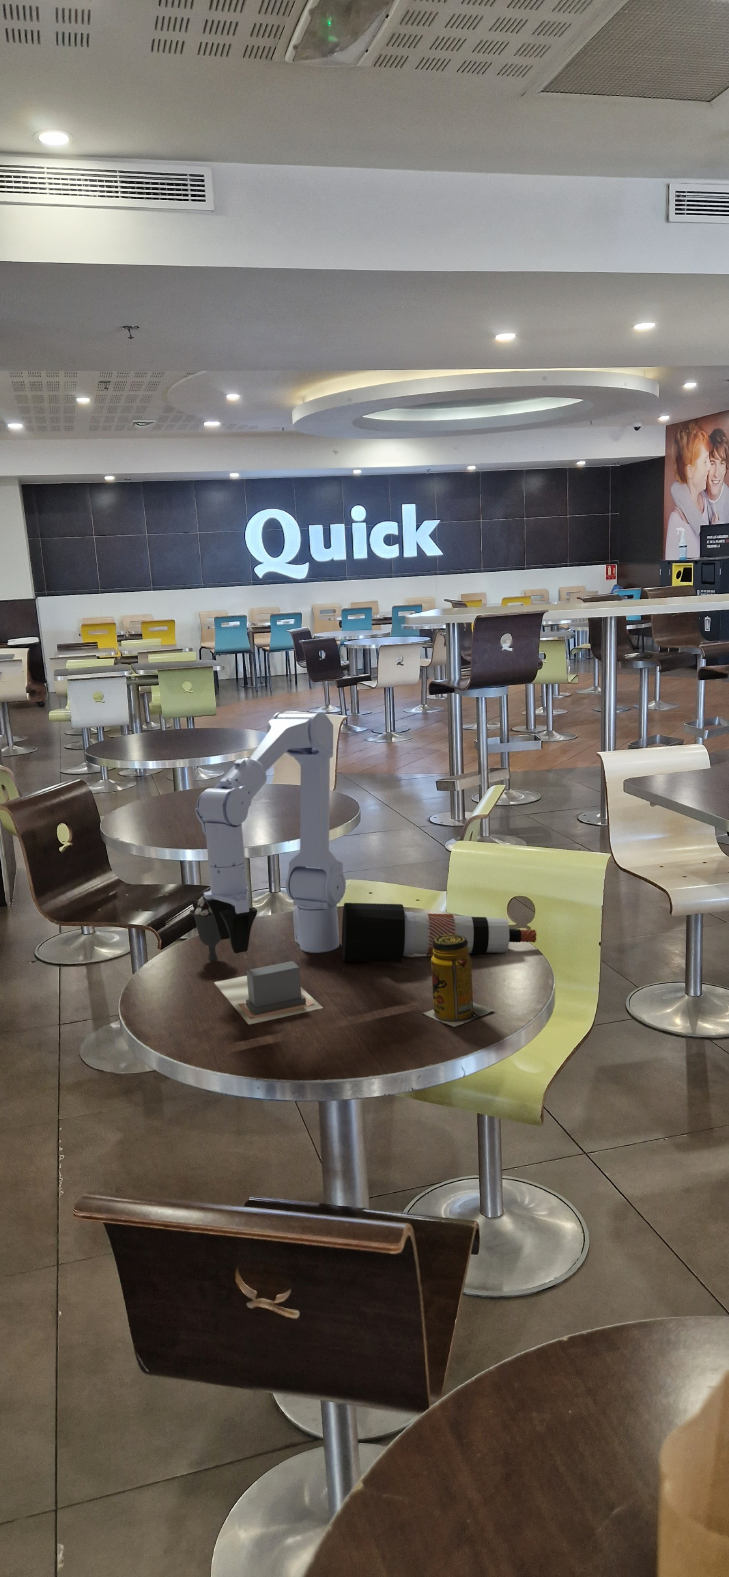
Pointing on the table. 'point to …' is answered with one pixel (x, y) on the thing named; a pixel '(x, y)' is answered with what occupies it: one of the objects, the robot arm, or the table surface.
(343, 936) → the striped banded cylinder
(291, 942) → the table surface
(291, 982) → the block
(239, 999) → the board
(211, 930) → the sundae
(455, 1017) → the condiment
